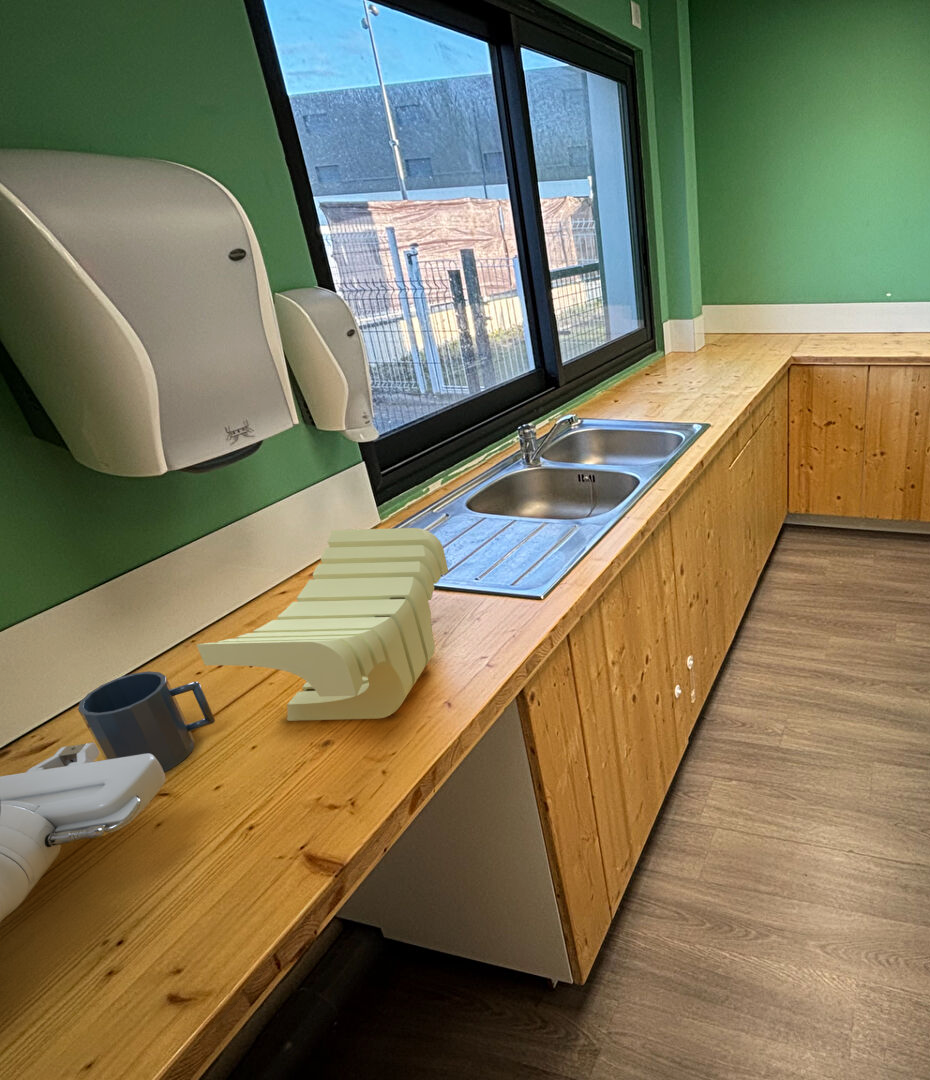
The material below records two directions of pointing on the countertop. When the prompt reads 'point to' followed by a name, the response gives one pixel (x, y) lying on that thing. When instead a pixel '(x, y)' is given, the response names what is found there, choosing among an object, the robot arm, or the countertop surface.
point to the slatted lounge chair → (351, 626)
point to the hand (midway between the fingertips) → (81, 749)
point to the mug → (142, 718)
